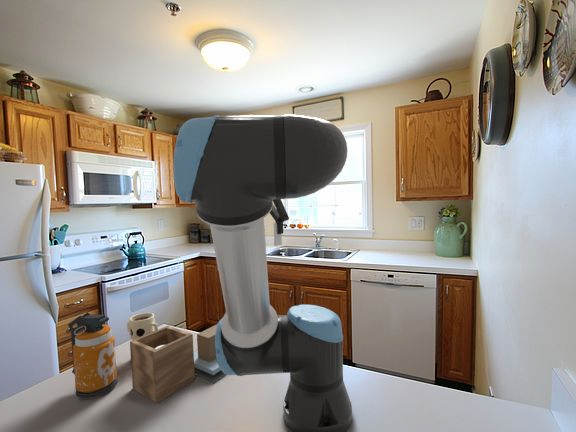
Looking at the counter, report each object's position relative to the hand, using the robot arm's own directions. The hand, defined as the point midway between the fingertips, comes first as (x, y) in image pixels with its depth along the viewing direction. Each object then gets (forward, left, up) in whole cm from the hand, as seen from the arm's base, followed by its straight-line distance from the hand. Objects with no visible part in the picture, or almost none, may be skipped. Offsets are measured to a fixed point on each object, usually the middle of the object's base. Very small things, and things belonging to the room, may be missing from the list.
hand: (259, 244), depth 90 cm
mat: (+10, +11, -35) cm, 38 cm away
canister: (+28, +36, -35) cm, 57 cm away
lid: (+10, +11, -34) cm, 37 cm away
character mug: (+32, +20, -35) cm, 51 cm away
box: (+14, +25, -35) cm, 45 cm away
